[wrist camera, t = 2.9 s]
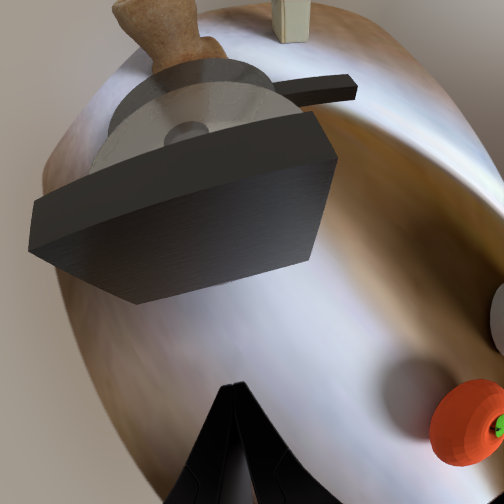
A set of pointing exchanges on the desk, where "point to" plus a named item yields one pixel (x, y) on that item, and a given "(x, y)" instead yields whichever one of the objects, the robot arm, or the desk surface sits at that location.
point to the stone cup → (166, 31)
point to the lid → (192, 195)
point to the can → (498, 319)
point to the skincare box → (291, 20)
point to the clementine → (468, 423)
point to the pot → (233, 71)
